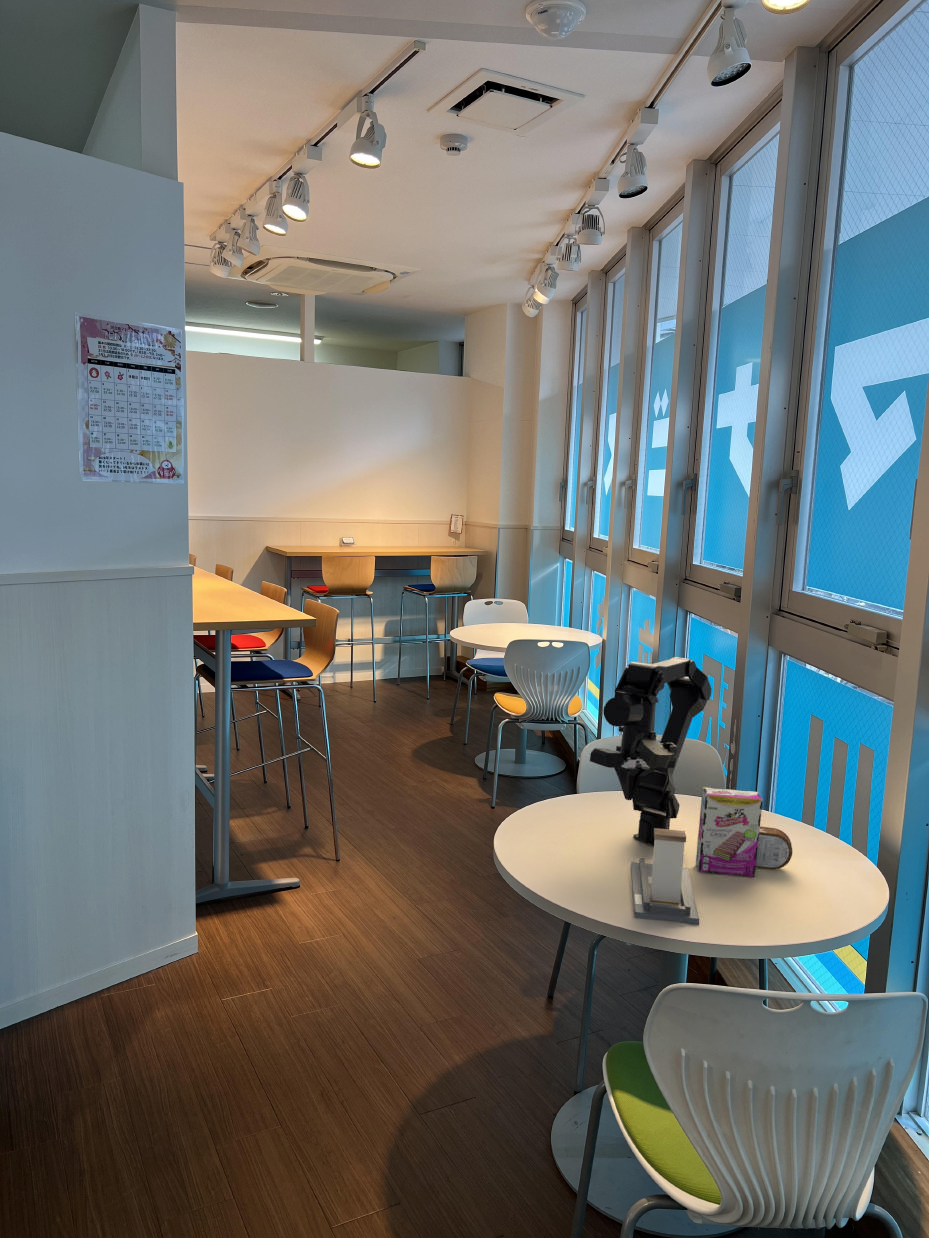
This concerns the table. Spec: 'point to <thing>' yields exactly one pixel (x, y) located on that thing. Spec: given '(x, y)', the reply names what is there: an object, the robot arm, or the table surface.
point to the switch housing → (661, 909)
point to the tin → (773, 849)
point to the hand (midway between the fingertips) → (628, 799)
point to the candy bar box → (728, 832)
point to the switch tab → (667, 865)
